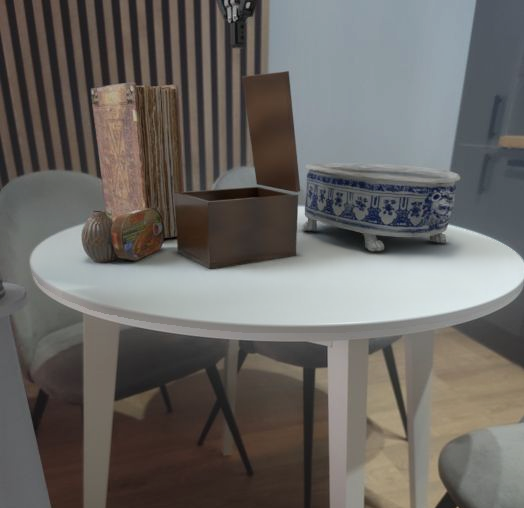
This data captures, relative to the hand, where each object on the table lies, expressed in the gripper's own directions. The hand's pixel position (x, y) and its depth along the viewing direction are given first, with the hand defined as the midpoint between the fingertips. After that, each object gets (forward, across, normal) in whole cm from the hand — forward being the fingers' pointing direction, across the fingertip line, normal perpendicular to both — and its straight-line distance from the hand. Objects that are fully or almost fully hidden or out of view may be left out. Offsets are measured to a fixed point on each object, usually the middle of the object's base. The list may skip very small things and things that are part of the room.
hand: (238, 47), depth 88 cm
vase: (+35, -4, -28) cm, 45 cm away
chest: (+35, +6, -4) cm, 36 cm away
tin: (+36, -3, -21) cm, 41 cm away
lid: (+14, +6, +3) cm, 15 cm away
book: (+36, -24, -12) cm, 45 cm away
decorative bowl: (+36, +8, +30) cm, 47 cm away
